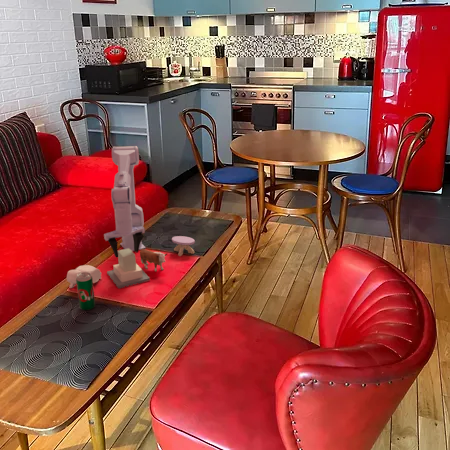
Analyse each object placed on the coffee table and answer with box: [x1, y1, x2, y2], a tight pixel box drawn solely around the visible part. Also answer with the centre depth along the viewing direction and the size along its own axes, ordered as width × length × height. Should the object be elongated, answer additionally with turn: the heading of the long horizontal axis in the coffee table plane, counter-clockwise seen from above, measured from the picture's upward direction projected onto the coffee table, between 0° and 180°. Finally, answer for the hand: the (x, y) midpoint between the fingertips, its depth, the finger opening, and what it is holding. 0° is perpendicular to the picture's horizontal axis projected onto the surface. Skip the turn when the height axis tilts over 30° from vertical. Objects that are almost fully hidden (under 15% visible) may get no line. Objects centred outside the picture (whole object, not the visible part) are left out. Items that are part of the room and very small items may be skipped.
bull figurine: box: [139, 248, 168, 272], centre depth 191 cm, size 4×13×8 cm, turn 53°
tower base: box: [106, 263, 151, 289], centre depth 185 cm, size 13×12×4 cm
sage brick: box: [117, 248, 137, 272], centre depth 184 cm, size 6×4×6 cm
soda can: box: [76, 272, 96, 311], centre depth 164 cm, size 5×5×12 cm
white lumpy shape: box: [66, 264, 102, 289], centre depth 178 cm, size 9×8×15 cm
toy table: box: [171, 235, 196, 257], centre depth 206 cm, size 10×9×6 cm
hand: (126, 254), depth 183 cm, fingers open, 7 cm apart
